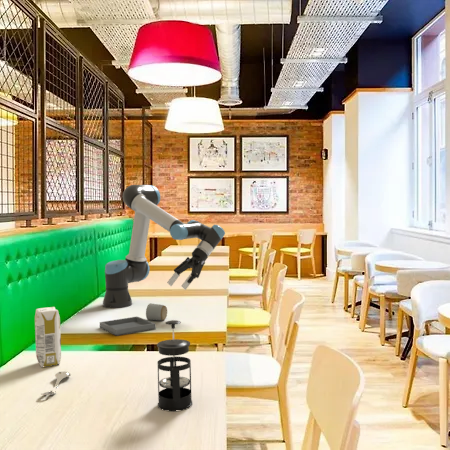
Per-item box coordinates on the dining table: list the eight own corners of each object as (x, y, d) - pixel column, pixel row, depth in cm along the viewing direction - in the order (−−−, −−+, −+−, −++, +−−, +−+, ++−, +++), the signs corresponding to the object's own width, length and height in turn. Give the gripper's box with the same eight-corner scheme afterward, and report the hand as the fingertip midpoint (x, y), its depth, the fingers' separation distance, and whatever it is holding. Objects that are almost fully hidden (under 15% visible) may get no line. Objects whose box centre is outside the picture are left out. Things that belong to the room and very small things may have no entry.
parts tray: (99, 327, 240) (99, 322, 240) (137, 321, 250) (137, 316, 250) (116, 335, 225) (116, 329, 225) (155, 329, 235) (155, 323, 235)
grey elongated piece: (53, 386, 154) (36, 387, 154) (53, 399, 154) (36, 399, 154) (72, 369, 174) (58, 369, 174) (73, 380, 174) (58, 380, 174)
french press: (156, 399, 153) (154, 317, 152) (190, 396, 155) (188, 315, 154) (158, 415, 142) (156, 327, 140) (195, 412, 143) (192, 325, 142)
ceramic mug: (162, 322, 248) (161, 305, 248) (145, 321, 250) (145, 304, 250) (170, 317, 258) (170, 301, 258) (154, 316, 261) (154, 300, 260)
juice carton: (39, 368, 183) (37, 312, 182) (35, 362, 191) (33, 308, 190) (62, 365, 186) (60, 310, 185) (57, 358, 194) (55, 305, 193)
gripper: (221, 259, 258) (194, 294, 250) (193, 255, 278) (168, 287, 271) (211, 248, 255) (184, 284, 247) (184, 245, 275) (158, 278, 267)
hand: (176, 286), depth 259 cm, fingers open, 13 cm apart
